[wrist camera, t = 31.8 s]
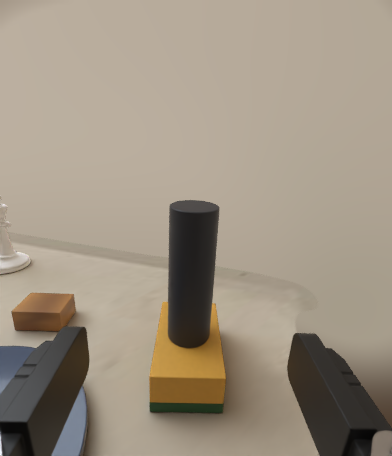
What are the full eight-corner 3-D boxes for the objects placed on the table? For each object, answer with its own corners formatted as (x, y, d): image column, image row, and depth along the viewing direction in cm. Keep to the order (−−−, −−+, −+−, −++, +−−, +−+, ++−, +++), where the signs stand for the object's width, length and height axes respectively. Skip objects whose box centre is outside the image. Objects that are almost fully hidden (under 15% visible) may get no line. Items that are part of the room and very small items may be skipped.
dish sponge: (222, 413, 18) (243, 227, 13) (149, 411, 17) (147, 223, 13) (213, 330, 25) (224, 194, 21) (162, 328, 25) (163, 192, 21)
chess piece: (-3, 278, 32) (-20, 196, 29) (-22, 267, 34) (-41, 190, 31) (38, 263, 36) (26, 190, 33) (18, 254, 38) (5, 185, 35)
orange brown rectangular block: (14, 330, 24) (11, 311, 23) (33, 309, 27) (30, 292, 26) (62, 331, 24) (59, 312, 23) (75, 311, 27) (73, 294, 26)
